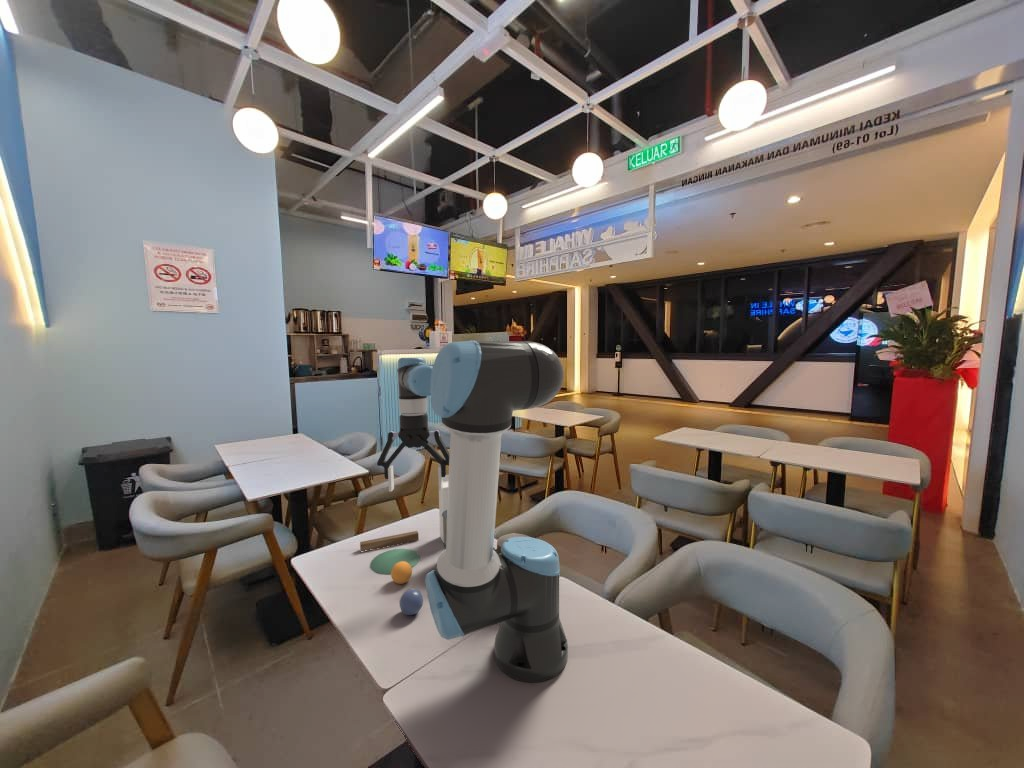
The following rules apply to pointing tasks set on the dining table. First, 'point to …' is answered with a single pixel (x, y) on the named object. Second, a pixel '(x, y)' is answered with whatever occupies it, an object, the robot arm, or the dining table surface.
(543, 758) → the dining table surface
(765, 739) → the dining table surface
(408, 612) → the navy ball
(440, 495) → the milk
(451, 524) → the robot arm
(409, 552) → the green mark
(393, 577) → the orange ball
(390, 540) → the walnut stopper
